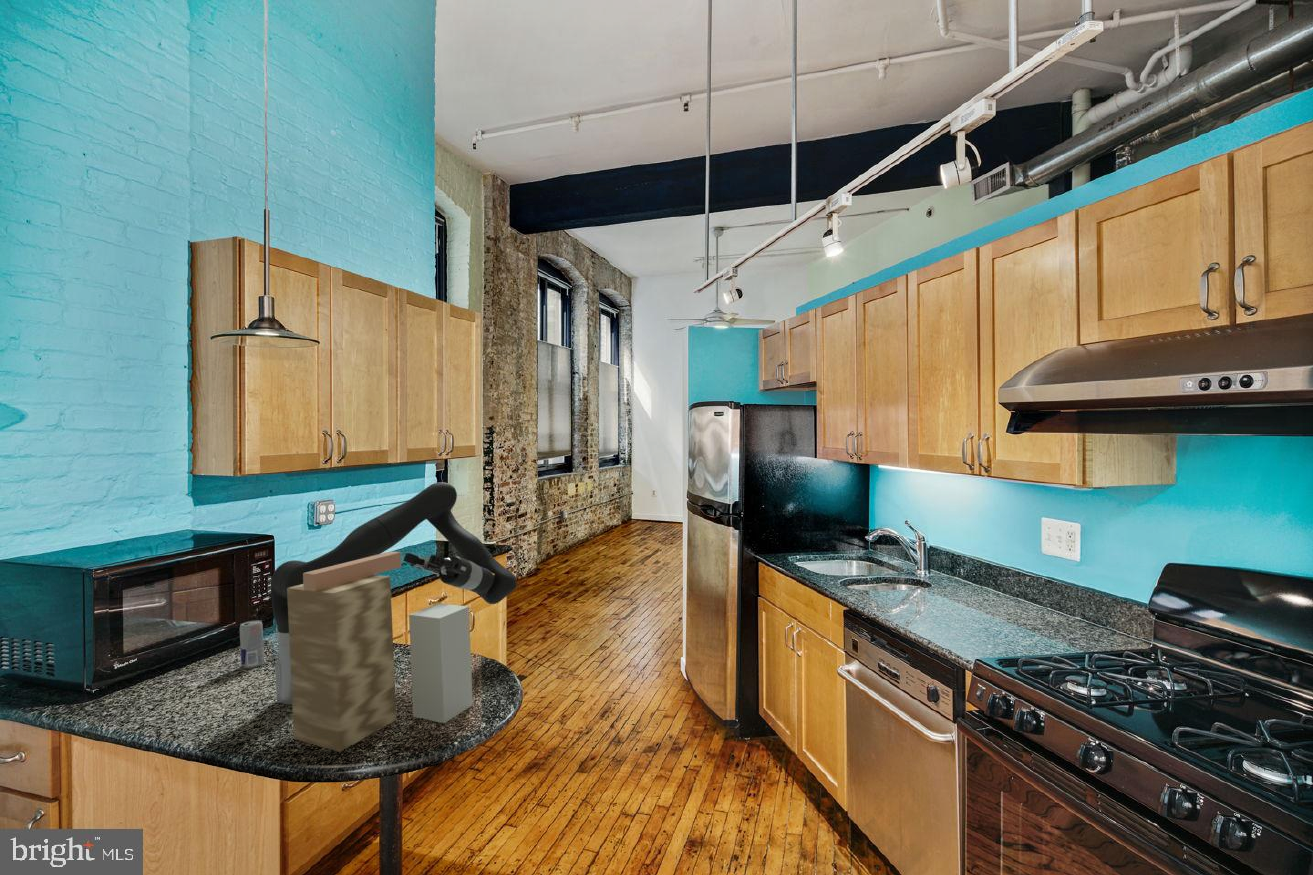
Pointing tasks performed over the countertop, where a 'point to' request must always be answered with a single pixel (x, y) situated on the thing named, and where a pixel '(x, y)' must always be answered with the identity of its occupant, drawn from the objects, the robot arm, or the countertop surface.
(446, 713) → the grey block
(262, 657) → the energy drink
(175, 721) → the countertop surface
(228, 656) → the countertop surface
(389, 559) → the terracotta bar
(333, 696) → the oak stand
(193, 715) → the countertop surface
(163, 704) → the countertop surface
